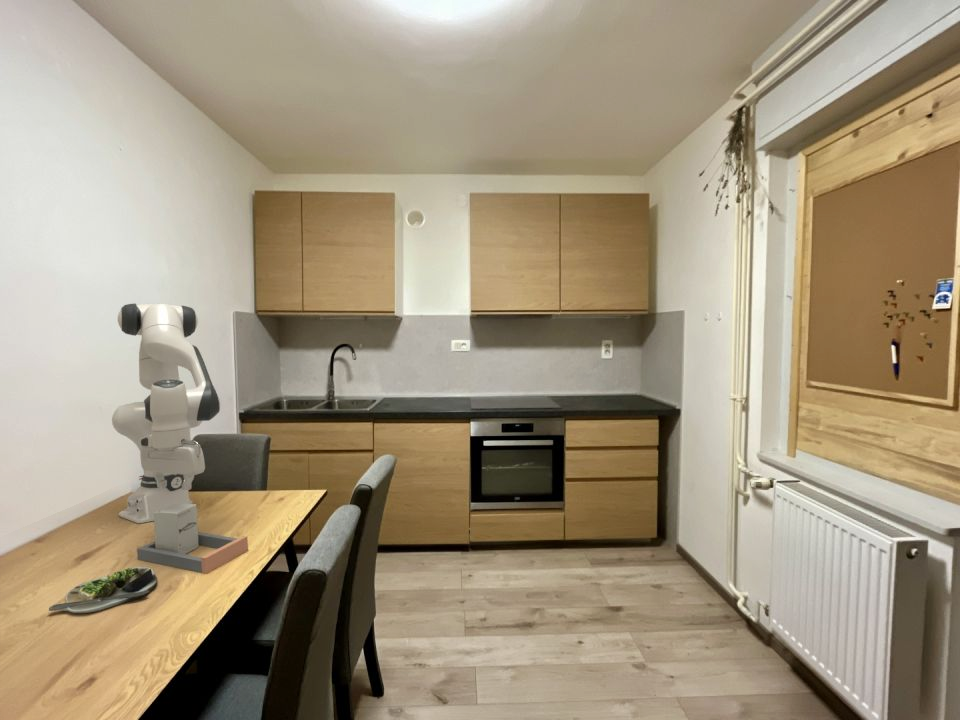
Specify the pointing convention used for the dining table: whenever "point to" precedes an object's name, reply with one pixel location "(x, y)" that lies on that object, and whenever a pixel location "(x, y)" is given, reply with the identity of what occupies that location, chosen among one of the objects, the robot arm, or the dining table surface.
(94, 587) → the salad plate
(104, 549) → the dining table surface
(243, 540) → the bay
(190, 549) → the supplement box
